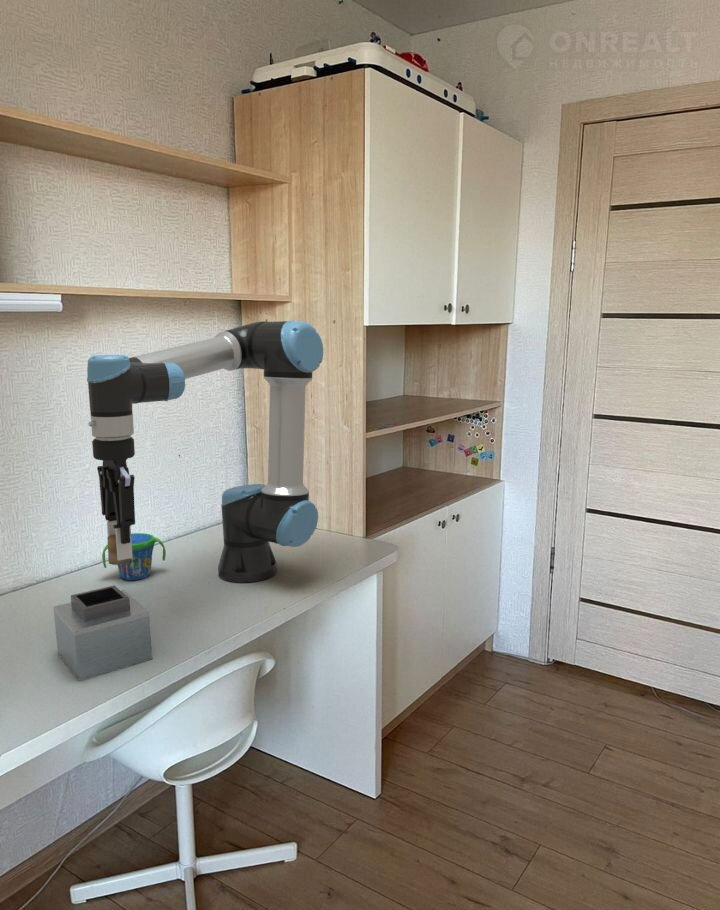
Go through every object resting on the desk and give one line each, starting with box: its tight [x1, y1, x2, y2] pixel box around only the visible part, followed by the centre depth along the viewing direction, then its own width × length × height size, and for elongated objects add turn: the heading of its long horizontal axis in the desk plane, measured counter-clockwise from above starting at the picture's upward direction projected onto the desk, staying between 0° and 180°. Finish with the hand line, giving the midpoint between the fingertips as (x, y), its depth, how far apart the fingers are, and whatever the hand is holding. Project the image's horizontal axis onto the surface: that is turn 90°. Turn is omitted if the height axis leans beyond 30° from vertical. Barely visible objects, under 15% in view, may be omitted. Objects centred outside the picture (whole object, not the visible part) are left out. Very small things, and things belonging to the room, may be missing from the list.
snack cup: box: [101, 532, 167, 581], centre depth 184 cm, size 16×10×10 cm
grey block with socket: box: [53, 584, 153, 682], centre depth 140 cm, size 14×14×12 cm
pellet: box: [106, 534, 130, 566], centre depth 139 cm, size 4×4×5 cm
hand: (120, 555), depth 139 cm, fingers closed on pellet, 4 cm apart
